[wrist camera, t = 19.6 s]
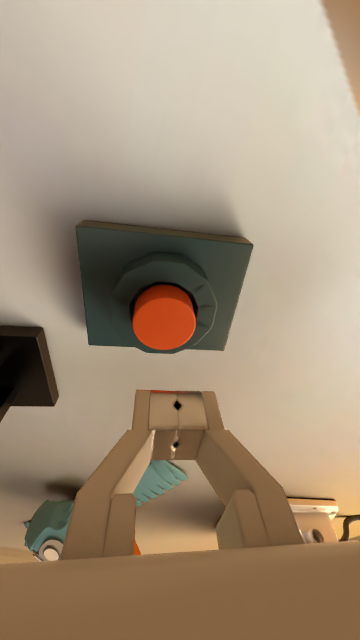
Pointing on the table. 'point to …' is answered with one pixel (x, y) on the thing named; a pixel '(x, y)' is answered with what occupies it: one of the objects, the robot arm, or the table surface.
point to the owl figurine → (55, 515)
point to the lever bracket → (25, 369)
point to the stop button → (163, 317)
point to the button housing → (158, 279)
